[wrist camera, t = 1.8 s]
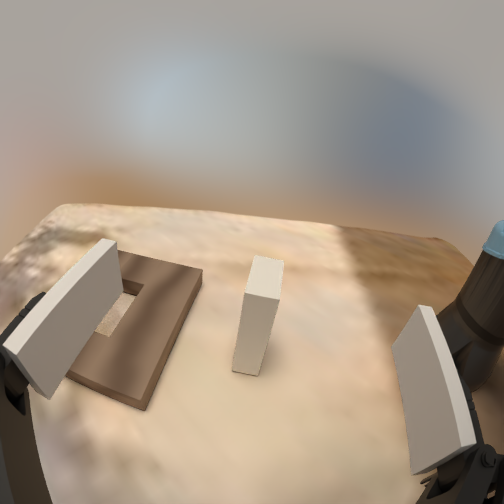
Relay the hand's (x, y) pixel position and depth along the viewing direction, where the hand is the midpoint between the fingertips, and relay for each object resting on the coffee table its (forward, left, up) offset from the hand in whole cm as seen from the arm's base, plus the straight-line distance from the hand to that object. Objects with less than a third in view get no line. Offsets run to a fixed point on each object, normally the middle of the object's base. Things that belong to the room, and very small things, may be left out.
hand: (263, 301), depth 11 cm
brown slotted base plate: (+18, -13, -20) cm, 30 cm away
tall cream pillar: (0, -13, -20) cm, 24 cm away
